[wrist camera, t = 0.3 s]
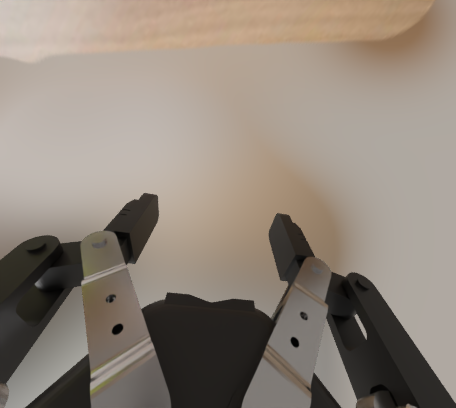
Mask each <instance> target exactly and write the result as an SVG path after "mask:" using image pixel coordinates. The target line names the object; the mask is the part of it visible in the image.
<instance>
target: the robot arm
mask: <svg viewBox="0 0 456 408" xmlns="http://www.w3.org/2000/svg"><path fill="white" fill-rule="evenodd" d="M158 216H159V210H158V196H157V195H154V194H148V193H144V194H143V195H142V196H141V197H140V199H139V200H135V199H134V200H133V201H131V202H129V203H127V204H126V205H125V206H124V207H123V209H122V210H121V211H120V212H119V213H118V214H117V215H116V217H115V218H114V219H113V220H112V221H111V222H110V224H108V226H107V227H106V228H105V229H104V230H103V231H99V232H95V233H92V234H90V235H88V236H87V237H85V238H84V239H83V240H82V241H79V242H70V243H62V244H60V242H59V240H58V238H57V237H54V236H39V237H35V238H32V239H29V240H27V241H25V242H23V243H21V244H20V245H18V246H17V247H16V248H15V249H13V250H12V251H11V252H10V253H9V254H7V255H6V256H5V257H4V258H2V259H1V260H0V408H4V407H5V404H6V402H7V399H8V395H9V389H8V386H7V385H6V383H7V381H8V380H9V378H10V377H11V376H12V374H13V373H14V371H15V370H16V369H17V367H18V366H19V364H20V363H21V362H22V360H23V359H24V357H25V356H26V354H27V353H28V351H29V350H30V349H31V347H32V346H33V344H34V343H35V342H36V340H37V339H38V337H39V336H40V334H41V333H42V331H43V330H44V329H45V327H46V326H47V324H48V323H49V322H50V320H51V319H52V317H53V316H54V315H55V313H56V312H57V310H58V309H59V307H60V306H61V304H62V303H63V302H64V300H65V299H66V297H67V296H68V295H69V293H70V292H71V290H72V289H73V288H74V287H77V286H82V295H83V305H84V313H85V323H86V333H87V342H88V351H89V354H87V355H86V356H85V357H84V358H83V359H81V361H79V362H78V363H77V364H76V365H75V366H73V367H72V368H71V369H70V370H69V371H67V372H66V373H65V374H64V375H63V376H62V377H60V378H59V379H58V380H57V381H56V382H55V383H53V384H52V385H51V386H50V387H49V388H48V389H46V390H45V391H44V392H43V393H42V394H40V395H39V396H38V397H37V398H36V399H35V400H34V401H32V402H31V403H30V404H29V405H28V406H26V407H25V408H341V407H340V405H339V404H338V403H337V402H336V400H335V399H334V398H333V397H332V395H331V394H330V392H329V391H328V390H327V389H326V387H325V386H324V385H323V384H322V382H321V381H320V380H319V379H318V377H317V376H316V374H315V373H314V368H315V364H316V359H317V355H318V351H319V346H320V342H321V337H322V333H323V329H324V324H325V320H326V319H327V321H328V324H329V326H330V329H331V332H332V334H333V337H334V340H335V342H336V345H337V348H338V350H339V353H340V355H341V358H342V361H343V364H344V366H345V369H346V372H347V374H348V377H349V379H350V382H351V385H352V387H353V390H354V392H355V395H356V398H357V403H356V408H456V403H455V402H454V401H453V399H452V398H451V396H450V395H449V393H448V392H447V391H446V389H445V388H444V386H443V385H442V383H441V382H440V380H439V379H438V377H437V376H436V374H435V373H434V371H433V370H432V369H431V367H430V366H429V364H428V363H427V361H426V360H425V358H424V357H423V356H422V354H421V353H420V351H419V350H418V348H417V347H416V345H415V344H414V342H413V341H412V339H411V338H410V337H409V335H408V334H407V332H406V331H405V330H404V328H403V326H402V325H401V323H400V322H399V321H398V319H397V318H396V316H395V315H394V313H393V312H392V310H391V309H390V308H389V306H388V305H387V303H386V302H385V300H384V299H383V297H382V296H381V294H380V293H379V292H378V290H377V289H376V287H375V286H374V285H373V283H372V282H371V281H370V280H368V279H367V278H366V277H364V276H362V275H360V274H358V273H349V274H348V275H347V276H346V277H344V276H341V275H338V274H336V273H333V272H331V270H330V268H329V267H328V265H327V264H326V263H325V262H323V261H322V260H320V259H318V258H316V257H315V256H314V254H313V252H312V250H311V248H310V246H309V244H308V242H307V241H306V238H305V236H304V235H303V232H302V230H301V229H300V228H299V227H298V226H297V225H296V224H295V223H293V222H292V220H291V218H290V216H289V215H286V214H279V213H277V214H276V216H275V218H274V221H273V223H272V225H271V228H270V230H269V240H270V244H271V247H272V251H273V255H274V259H275V262H276V266H277V270H278V273H279V277H280V280H282V281H288V286H287V288H286V290H285V292H284V294H283V296H282V298H281V300H280V302H279V304H278V306H277V308H276V310H275V312H274V313H273V315H272V317H271V318H270V317H269V316H267V315H266V314H265V313H263V312H262V311H260V310H258V309H256V308H255V306H254V301H251V300H241V299H230V300H224V301H219V302H213V303H211V302H208V301H205V300H202V299H200V298H197V297H194V296H192V295H188V294H178V293H167V295H166V298H165V300H160V301H157V302H154V303H152V304H149V305H147V306H146V307H144V308H142V309H141V308H140V305H139V301H138V298H137V295H136V292H135V289H134V286H133V283H132V280H131V277H130V274H129V271H128V268H127V264H128V263H132V264H135V263H136V261H137V260H138V258H139V256H140V254H141V252H142V250H143V248H144V246H145V244H146V243H147V241H148V239H149V237H150V235H151V233H152V231H153V229H154V227H155V226H156V224H157V221H158ZM356 314H357V315H358V316H359V318H360V320H361V322H362V324H363V326H364V328H365V330H366V333H367V340H366V339H365V337H364V335H363V333H362V331H361V329H360V327H359V325H358V323H357V321H356V319H355V317H354V316H355V315H356Z"/></svg>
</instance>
